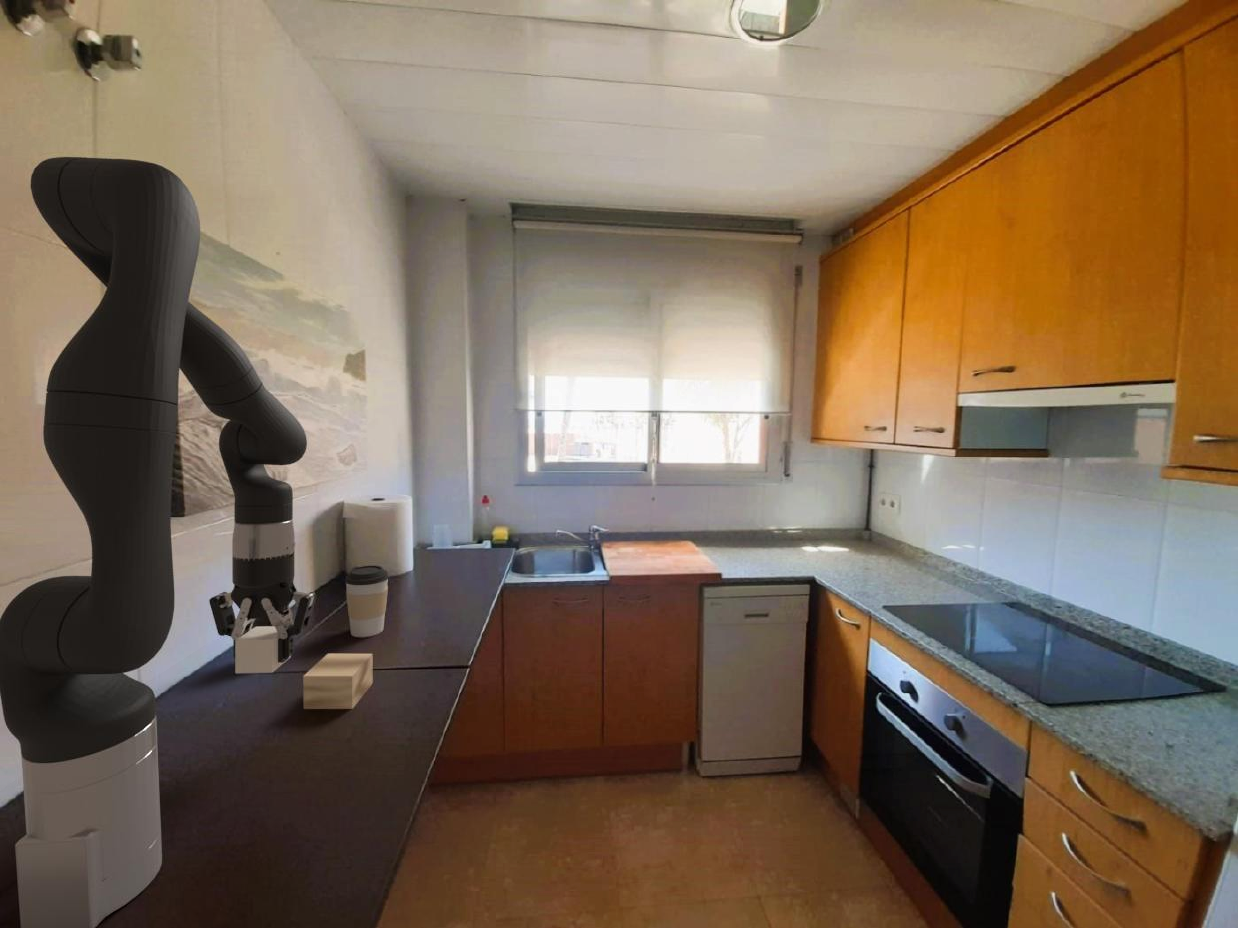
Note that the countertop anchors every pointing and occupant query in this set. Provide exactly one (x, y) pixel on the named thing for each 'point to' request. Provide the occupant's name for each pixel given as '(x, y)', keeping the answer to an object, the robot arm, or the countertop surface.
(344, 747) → the countertop surface
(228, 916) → the countertop surface
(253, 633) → the cream cube
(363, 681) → the oak block
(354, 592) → the coffee cup
